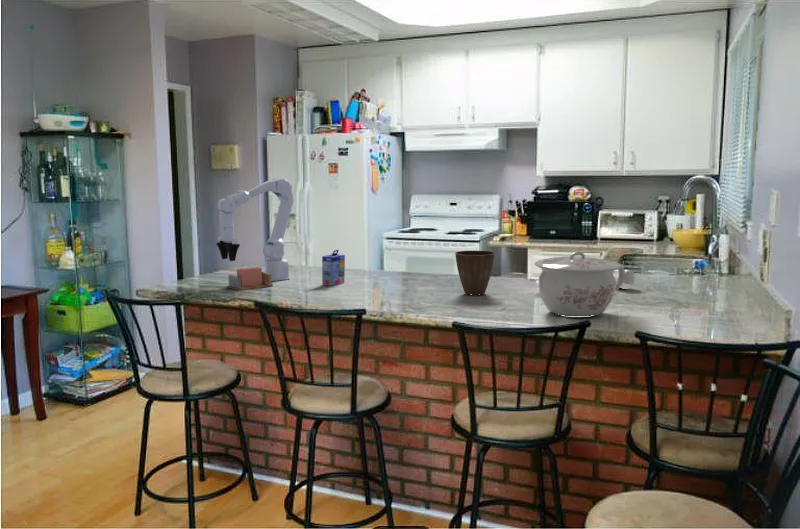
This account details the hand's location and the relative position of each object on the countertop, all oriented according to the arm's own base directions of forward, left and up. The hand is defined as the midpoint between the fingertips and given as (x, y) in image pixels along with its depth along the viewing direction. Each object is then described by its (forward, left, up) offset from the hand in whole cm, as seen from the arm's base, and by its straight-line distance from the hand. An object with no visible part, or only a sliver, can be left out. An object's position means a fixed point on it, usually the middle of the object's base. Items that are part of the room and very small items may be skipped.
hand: (228, 259), depth 270 cm
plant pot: (-63, +82, -11) cm, 104 cm away
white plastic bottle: (-115, +107, -11) cm, 158 cm away
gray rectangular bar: (+3, +11, -10) cm, 15 cm away
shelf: (-4, +11, -10) cm, 16 cm away
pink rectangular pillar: (-4, +11, -10) cm, 15 cm away
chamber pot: (-64, +128, -11) cm, 144 cm away
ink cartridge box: (-34, +28, -11) cm, 45 cm away
